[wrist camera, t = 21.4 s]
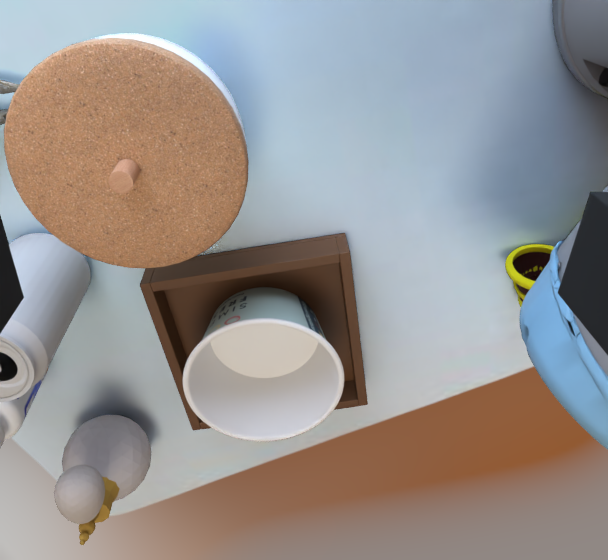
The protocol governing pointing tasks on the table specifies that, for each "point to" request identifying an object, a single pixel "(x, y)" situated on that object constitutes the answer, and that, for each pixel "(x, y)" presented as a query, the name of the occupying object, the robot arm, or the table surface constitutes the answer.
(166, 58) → the lidded bowl
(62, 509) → the perfume bottle
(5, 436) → the pill bottle
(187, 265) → the tray
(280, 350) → the food container
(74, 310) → the beverage can
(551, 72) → the table surface
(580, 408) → the robot arm
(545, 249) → the opera glasses
